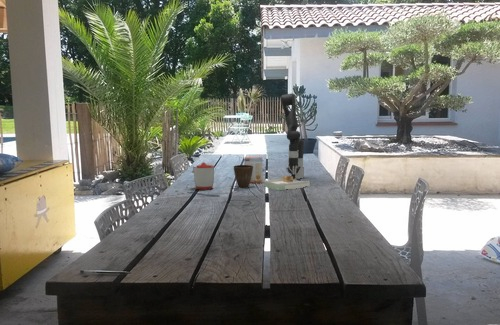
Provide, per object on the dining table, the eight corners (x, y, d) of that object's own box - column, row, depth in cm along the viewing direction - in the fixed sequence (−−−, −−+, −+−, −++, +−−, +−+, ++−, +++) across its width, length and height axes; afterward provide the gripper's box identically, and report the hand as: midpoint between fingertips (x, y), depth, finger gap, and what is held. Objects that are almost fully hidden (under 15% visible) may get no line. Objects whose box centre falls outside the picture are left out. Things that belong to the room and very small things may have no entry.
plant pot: (251, 189, 359) (251, 167, 357) (231, 188, 362) (231, 167, 360) (254, 185, 373) (254, 165, 371) (236, 185, 376) (236, 164, 374)
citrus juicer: (197, 186, 372) (196, 160, 370) (217, 187, 366) (217, 161, 364) (187, 189, 357) (187, 162, 355) (209, 191, 352) (208, 163, 349)
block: (289, 180, 377) (289, 175, 377) (292, 181, 373) (292, 176, 373) (282, 181, 374) (282, 176, 374) (286, 182, 370) (286, 177, 370)
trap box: (294, 183, 383) (294, 177, 383) (309, 187, 366) (309, 181, 366) (264, 186, 370) (264, 180, 369) (278, 190, 352) (278, 184, 352)
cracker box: (262, 182, 390) (262, 156, 388) (261, 183, 384) (261, 157, 382) (245, 181, 392) (245, 156, 389) (244, 183, 386) (244, 157, 383)
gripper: (297, 155, 380) (297, 177, 382) (283, 156, 374) (283, 179, 376) (303, 156, 374) (303, 178, 376) (289, 157, 367) (289, 180, 369)
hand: (293, 178), depth 376 cm, fingers closed
